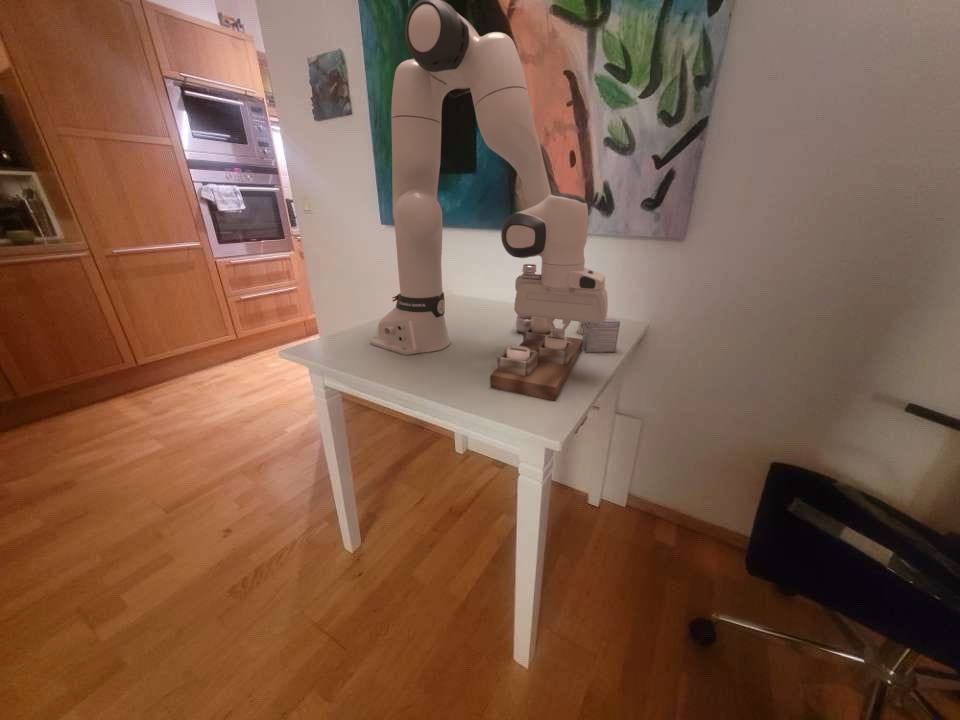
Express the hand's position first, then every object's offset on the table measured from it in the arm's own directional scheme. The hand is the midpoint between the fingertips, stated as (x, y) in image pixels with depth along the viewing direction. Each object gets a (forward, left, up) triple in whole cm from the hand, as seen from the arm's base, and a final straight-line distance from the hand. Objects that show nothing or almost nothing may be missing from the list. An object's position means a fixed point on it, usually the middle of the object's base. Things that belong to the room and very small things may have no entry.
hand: (557, 336), depth 83 cm
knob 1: (-6, -9, -5) cm, 12 cm away
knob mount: (-3, 0, -8) cm, 9 cm away
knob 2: (-6, +9, -2) cm, 11 cm away
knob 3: (0, 0, -4) cm, 4 cm away
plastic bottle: (-14, +23, -8) cm, 28 cm away
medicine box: (+8, +17, -8) cm, 20 cm away
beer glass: (+3, +30, -8) cm, 31 cm away
